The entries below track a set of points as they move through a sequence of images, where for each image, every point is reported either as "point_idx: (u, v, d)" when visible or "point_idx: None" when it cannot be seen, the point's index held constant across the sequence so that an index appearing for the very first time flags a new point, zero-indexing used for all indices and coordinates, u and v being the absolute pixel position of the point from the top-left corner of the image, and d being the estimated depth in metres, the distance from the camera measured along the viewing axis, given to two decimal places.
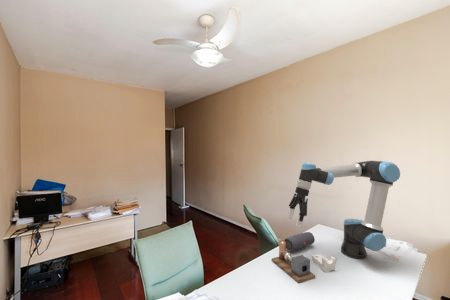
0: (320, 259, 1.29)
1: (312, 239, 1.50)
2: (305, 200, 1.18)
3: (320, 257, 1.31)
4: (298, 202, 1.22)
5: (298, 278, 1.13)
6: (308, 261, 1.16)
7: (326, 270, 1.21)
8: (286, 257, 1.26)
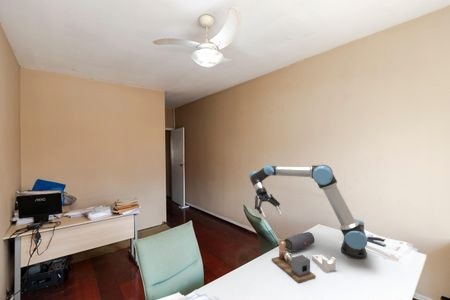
0: (320, 259, 1.28)
1: (312, 239, 1.50)
2: (255, 198, 1.49)
3: (320, 257, 1.31)
4: None
5: (298, 278, 1.13)
6: (308, 261, 1.16)
7: (326, 270, 1.21)
8: (286, 257, 1.26)
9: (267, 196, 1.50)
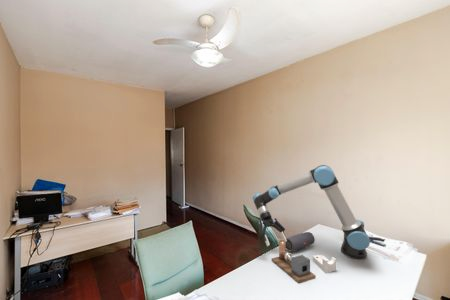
0: (321, 260, 1.28)
1: (312, 239, 1.50)
2: (259, 223, 1.43)
3: (321, 258, 1.30)
4: None
5: (298, 278, 1.13)
6: (308, 261, 1.16)
7: (327, 271, 1.21)
8: (286, 257, 1.26)
9: (271, 221, 1.45)
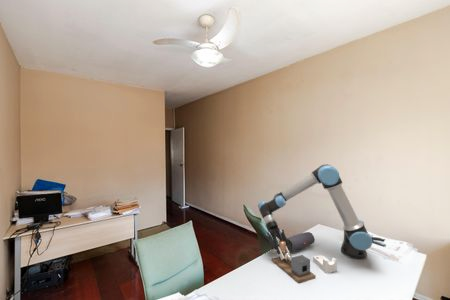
0: (321, 260, 1.27)
1: (312, 239, 1.50)
2: (267, 235, 1.36)
3: (321, 258, 1.30)
4: None
5: (298, 278, 1.13)
6: (308, 261, 1.16)
7: (327, 271, 1.20)
8: (286, 257, 1.26)
9: (278, 231, 1.39)
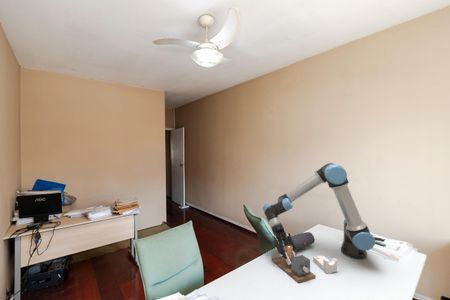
0: (321, 260, 1.27)
1: (312, 239, 1.50)
2: (273, 239, 1.31)
3: (321, 258, 1.29)
4: None
5: (298, 278, 1.13)
6: (308, 261, 1.16)
7: (328, 272, 1.20)
8: None
9: (284, 235, 1.33)
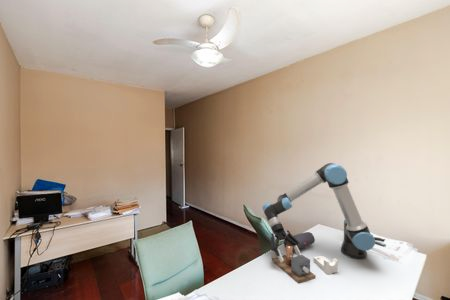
0: (322, 261, 1.27)
1: (312, 239, 1.50)
2: (271, 236, 1.32)
3: (322, 259, 1.29)
4: None
5: (298, 278, 1.13)
6: (308, 261, 1.16)
7: (328, 272, 1.19)
8: None
9: (284, 234, 1.33)
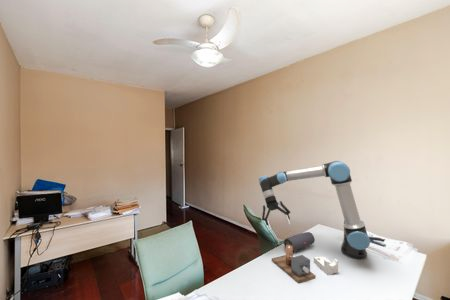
0: (322, 261, 1.26)
1: (312, 239, 1.50)
2: (263, 207, 1.46)
3: (322, 259, 1.28)
4: None
5: (298, 278, 1.13)
6: (308, 261, 1.16)
7: (329, 273, 1.19)
8: None
9: (276, 205, 1.45)
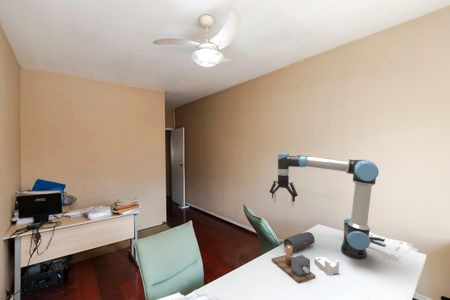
0: (323, 262, 1.26)
1: (312, 239, 1.50)
2: None
3: (323, 260, 1.28)
4: None
5: (298, 278, 1.13)
6: (308, 261, 1.16)
7: (329, 273, 1.18)
8: None
9: (284, 185, 1.46)
